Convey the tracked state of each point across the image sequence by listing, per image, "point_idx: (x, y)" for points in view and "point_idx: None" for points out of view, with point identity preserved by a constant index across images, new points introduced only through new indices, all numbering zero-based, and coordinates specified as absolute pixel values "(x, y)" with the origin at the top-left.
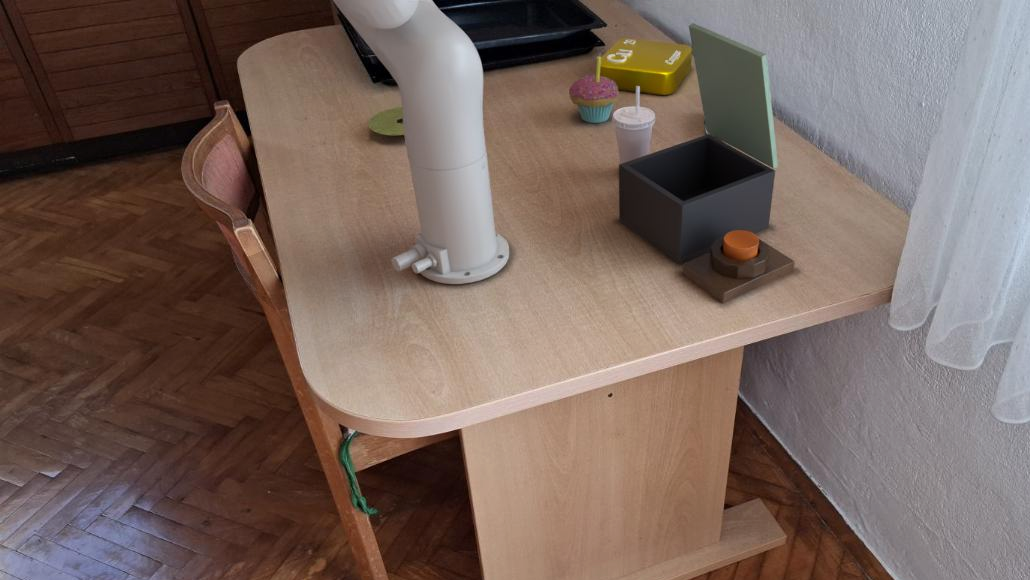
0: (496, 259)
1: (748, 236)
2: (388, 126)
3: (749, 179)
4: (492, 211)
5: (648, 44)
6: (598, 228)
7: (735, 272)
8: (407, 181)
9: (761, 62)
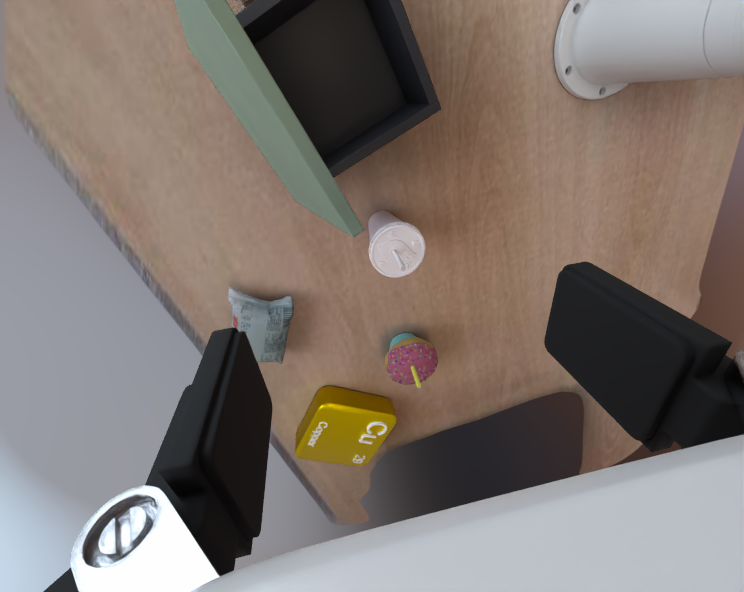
0: (582, 1)
1: None
2: None
3: (242, 13)
4: (620, 16)
5: (340, 456)
6: (441, 91)
7: None
8: (605, 224)
9: None
